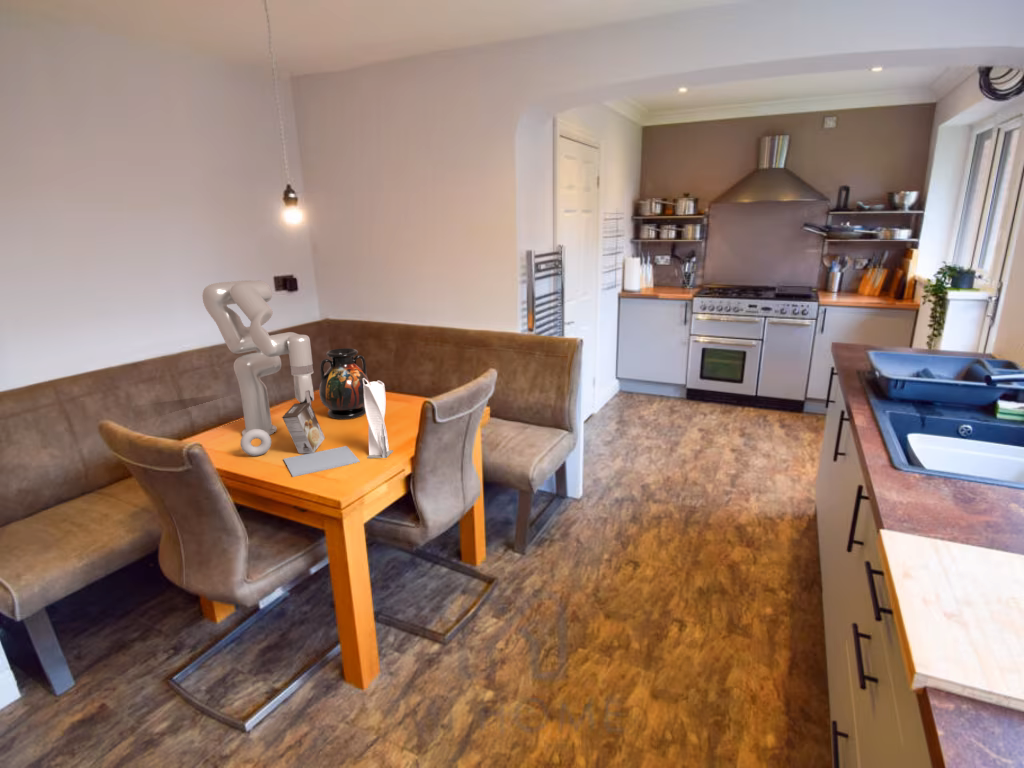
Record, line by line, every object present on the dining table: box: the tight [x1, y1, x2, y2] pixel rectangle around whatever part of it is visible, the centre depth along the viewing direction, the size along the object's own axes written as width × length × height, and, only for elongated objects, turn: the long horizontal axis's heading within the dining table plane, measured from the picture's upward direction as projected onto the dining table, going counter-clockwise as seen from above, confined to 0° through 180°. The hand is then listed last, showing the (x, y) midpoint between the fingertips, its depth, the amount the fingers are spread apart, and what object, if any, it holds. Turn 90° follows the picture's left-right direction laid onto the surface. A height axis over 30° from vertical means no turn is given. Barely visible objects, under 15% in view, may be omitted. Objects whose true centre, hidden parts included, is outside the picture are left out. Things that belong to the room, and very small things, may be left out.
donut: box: [240, 429, 272, 457], centre depth 197 cm, size 10×4×10 cm, turn 115°
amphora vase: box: [318, 347, 371, 420], centre depth 238 cm, size 22×22×28 cm
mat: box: [283, 445, 360, 478], centre depth 192 cm, size 16×22×1 cm
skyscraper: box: [362, 378, 394, 459], centre depth 195 cm, size 8×8×28 cm
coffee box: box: [281, 402, 326, 455], centre depth 198 cm, size 9×6×16 cm
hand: (307, 418), depth 204 cm, fingers closed
